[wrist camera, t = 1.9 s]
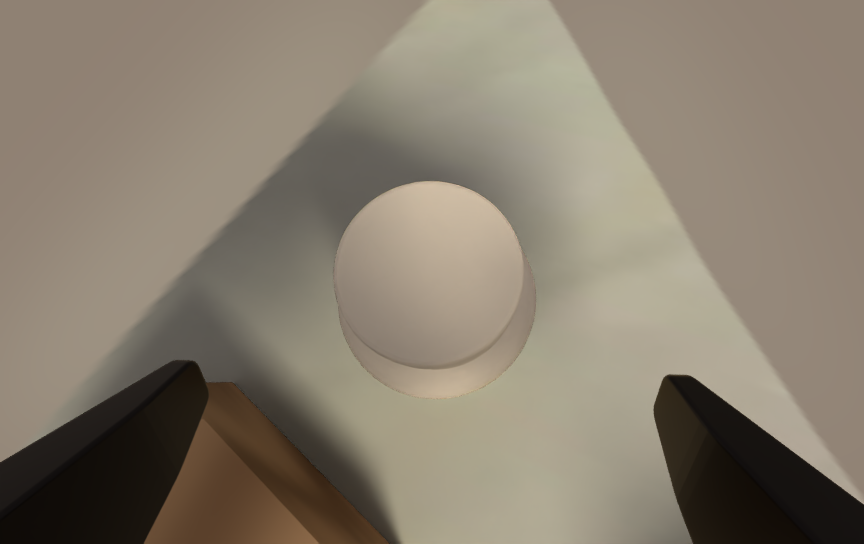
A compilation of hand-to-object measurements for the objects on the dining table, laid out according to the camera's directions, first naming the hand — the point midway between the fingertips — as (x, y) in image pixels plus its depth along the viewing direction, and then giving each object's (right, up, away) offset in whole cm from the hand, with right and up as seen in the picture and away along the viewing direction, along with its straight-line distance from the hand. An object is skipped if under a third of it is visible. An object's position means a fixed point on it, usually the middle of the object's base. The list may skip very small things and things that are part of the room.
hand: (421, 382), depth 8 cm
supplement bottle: (+1, 0, +10) cm, 10 cm away
